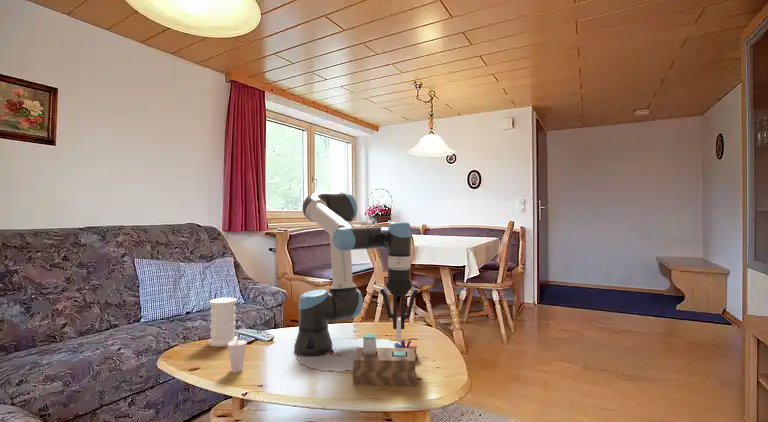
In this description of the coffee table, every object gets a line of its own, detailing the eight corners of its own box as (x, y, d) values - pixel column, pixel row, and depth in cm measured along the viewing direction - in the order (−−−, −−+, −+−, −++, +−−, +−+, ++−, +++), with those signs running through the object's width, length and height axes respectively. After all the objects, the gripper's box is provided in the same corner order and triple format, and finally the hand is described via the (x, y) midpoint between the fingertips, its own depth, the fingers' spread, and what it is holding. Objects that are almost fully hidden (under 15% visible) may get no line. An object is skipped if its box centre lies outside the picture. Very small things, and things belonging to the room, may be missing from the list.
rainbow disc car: (416, 364, 144) (416, 344, 144) (390, 362, 146) (390, 342, 146) (418, 355, 152) (418, 337, 152) (394, 354, 154) (394, 335, 154)
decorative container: (231, 346, 163) (231, 303, 164) (203, 346, 164) (203, 303, 164) (241, 337, 175) (241, 297, 175) (215, 337, 175) (215, 297, 175)
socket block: (352, 385, 126) (352, 360, 126) (357, 370, 138) (356, 347, 138) (415, 386, 125) (415, 360, 125) (414, 371, 137) (414, 348, 137)
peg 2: (393, 379, 129) (393, 355, 129) (393, 374, 133) (393, 351, 133) (405, 380, 129) (405, 355, 129) (405, 375, 133) (405, 351, 133)
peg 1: (363, 361, 130) (363, 337, 130) (364, 357, 134) (364, 333, 134) (375, 361, 129) (375, 337, 130) (376, 357, 133) (376, 333, 134)
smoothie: (228, 375, 134) (228, 334, 134) (226, 368, 140) (226, 329, 140) (248, 371, 137) (248, 331, 137) (245, 365, 142) (245, 326, 143)
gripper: (379, 269, 128) (378, 341, 128) (419, 270, 127) (418, 342, 128) (380, 266, 136) (379, 334, 136) (418, 266, 135) (417, 335, 135)
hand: (398, 338), depth 132 cm, fingers closed
